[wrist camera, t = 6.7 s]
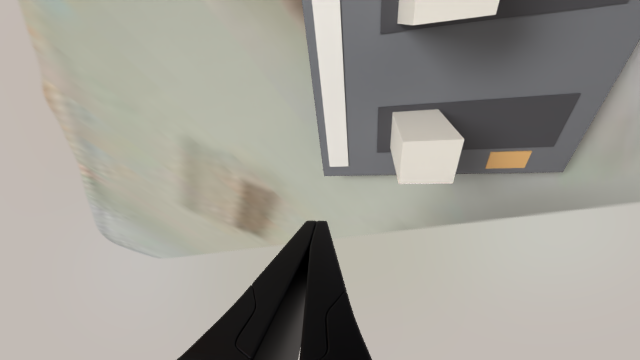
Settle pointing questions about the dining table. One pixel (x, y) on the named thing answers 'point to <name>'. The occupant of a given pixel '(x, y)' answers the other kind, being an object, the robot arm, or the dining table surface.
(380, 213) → the dining table surface
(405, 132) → the switch tab
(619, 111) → the dining table surface
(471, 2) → the switch tab
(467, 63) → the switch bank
